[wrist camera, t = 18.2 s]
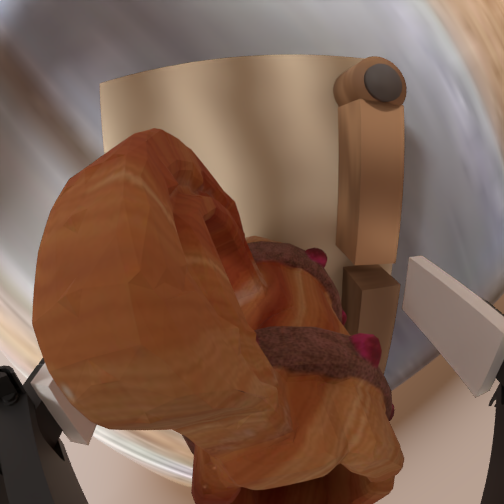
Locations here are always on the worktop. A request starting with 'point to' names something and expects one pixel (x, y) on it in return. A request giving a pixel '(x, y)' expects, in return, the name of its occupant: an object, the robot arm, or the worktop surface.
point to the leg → (370, 160)
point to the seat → (263, 155)
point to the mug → (209, 334)
